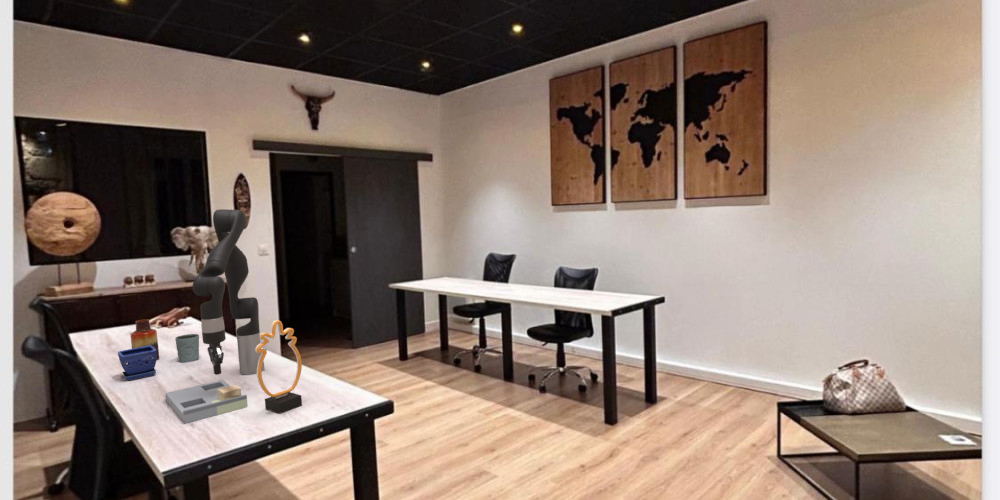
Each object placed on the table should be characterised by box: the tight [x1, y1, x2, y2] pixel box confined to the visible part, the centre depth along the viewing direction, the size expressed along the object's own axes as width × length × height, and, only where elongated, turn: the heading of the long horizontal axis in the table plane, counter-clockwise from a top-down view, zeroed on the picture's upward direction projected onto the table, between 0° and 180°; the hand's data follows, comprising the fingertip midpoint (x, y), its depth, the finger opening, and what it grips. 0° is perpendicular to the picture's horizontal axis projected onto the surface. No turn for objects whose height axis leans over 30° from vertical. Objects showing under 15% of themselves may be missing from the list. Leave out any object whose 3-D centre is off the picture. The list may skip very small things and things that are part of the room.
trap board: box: [165, 379, 249, 424], centre depth 194 cm, size 20×32×4 cm, turn 42°
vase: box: [130, 318, 160, 362], centre depth 258 cm, size 11×11×20 cm
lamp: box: [255, 319, 303, 415], centre depth 186 cm, size 17×9×32 cm, turn 145°
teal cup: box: [174, 333, 200, 364], centre depth 256 cm, size 10×10×12 cm
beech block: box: [218, 384, 242, 401], centre depth 190 cm, size 6×6×4 cm
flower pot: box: [117, 345, 157, 381], centre depth 232 cm, size 13×13×12 cm
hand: (217, 373), depth 197 cm, fingers closed
